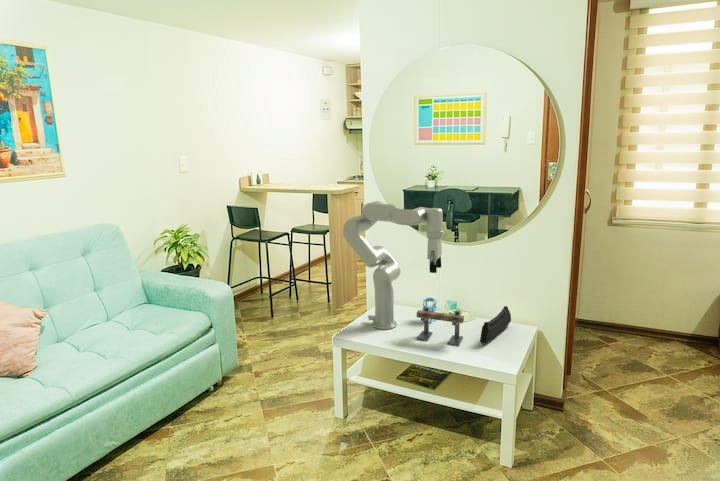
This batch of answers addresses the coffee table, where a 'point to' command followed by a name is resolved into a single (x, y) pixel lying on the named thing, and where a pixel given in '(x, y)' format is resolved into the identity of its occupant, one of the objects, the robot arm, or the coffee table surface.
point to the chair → (430, 307)
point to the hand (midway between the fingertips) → (435, 270)
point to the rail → (440, 316)
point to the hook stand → (426, 334)
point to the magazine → (495, 326)
